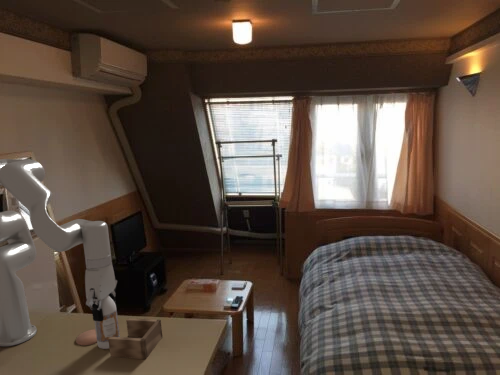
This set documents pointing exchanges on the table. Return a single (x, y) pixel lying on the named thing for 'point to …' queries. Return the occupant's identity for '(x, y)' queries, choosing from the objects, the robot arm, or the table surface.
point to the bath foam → (107, 323)
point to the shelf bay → (137, 339)
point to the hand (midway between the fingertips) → (105, 314)
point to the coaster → (87, 338)
